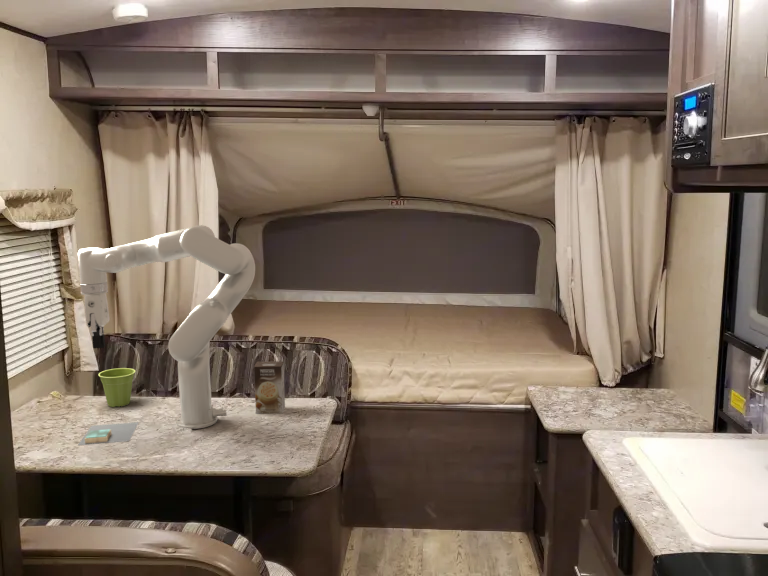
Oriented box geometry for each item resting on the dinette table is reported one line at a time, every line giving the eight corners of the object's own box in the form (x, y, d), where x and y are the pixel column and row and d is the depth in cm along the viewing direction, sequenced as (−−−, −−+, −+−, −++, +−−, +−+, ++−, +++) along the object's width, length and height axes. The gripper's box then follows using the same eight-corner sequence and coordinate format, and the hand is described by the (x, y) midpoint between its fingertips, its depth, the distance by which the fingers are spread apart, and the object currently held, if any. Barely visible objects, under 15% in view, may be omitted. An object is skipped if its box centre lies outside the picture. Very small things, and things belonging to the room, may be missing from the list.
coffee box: (254, 414, 214) (252, 366, 212) (258, 407, 221) (256, 361, 218) (283, 413, 214) (281, 366, 212) (285, 407, 221) (283, 360, 218)
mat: (138, 423, 207) (138, 422, 207) (129, 443, 192) (129, 441, 192) (91, 427, 205) (91, 425, 205) (77, 447, 189) (77, 445, 189)
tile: (89, 430, 196) (111, 428, 197) (90, 435, 196) (111, 434, 197) (84, 438, 190) (106, 436, 191) (85, 443, 190) (107, 441, 191)
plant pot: (124, 410, 220) (122, 378, 218) (93, 408, 222) (90, 376, 221) (144, 399, 231) (142, 368, 229) (114, 397, 234) (112, 366, 232)
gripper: (101, 291, 193) (106, 352, 196) (112, 284, 208) (117, 341, 210) (74, 293, 192) (79, 354, 195) (87, 285, 206) (92, 342, 209)
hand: (99, 347), depth 202 cm, fingers closed
